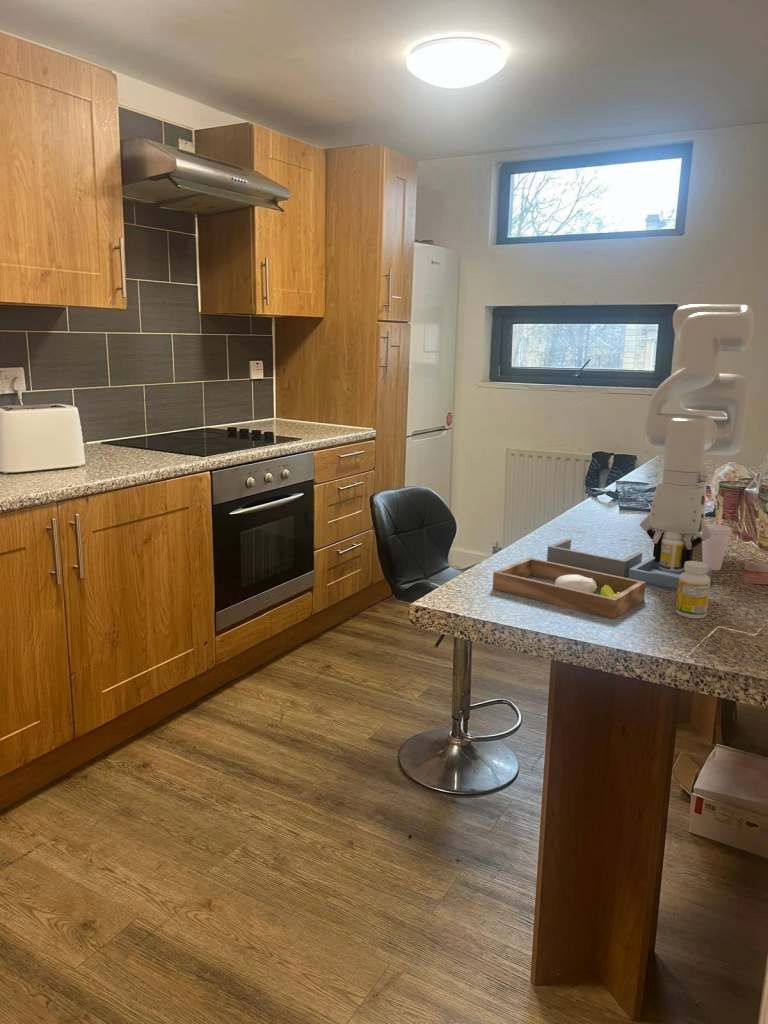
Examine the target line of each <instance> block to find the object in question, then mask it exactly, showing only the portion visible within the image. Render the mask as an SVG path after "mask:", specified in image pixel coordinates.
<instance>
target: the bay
mask: <svg viewBox="0 0 768 1024" xmlns="http://www.w3.org/2000/svg"><path fill="white" fill-rule="evenodd" d="M571 545H572V539H569V538H566V539H564V540H561V541H558V542H556V543H553V544H551V545H549V546H547V555H546V561H548V562H553V563H558V564H562V565H567V566H572V567H577V568H582V569H586V570H591V571H596V572H601V573H605V574H610V575H615V576H620V577H624V578H627V576H629V569H630V568H632V567H634V566H636V565H638V564H640V563H641V562H643V560H642V558H643V552H640V551H637V552H635V553H633V554H631V555H629V556H628V557H626V558H624V559H619V558H614V557H609V556H603V555H599V554H595V553H594V554H593V553H588V552H585V551H584V552H583V551H579V550H574V549H571V547H572V546H571Z"/></svg>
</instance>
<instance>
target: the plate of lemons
mask: <svg viewBox="0 0 768 1024" xmlns="http://www.w3.org/2000/svg"><path fill="white" fill-rule="evenodd" d="M594 594H598V595H602V596H606V597H611V598H613V597H615V596H616V595H618V594H620V592H617V594H615V593H614V591H613V590H612V588H611V587H610V586H608V585H605V586H604V587H603V588H602V589H601V591H598V592H596V593H595V592H594Z"/></svg>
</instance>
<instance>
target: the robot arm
mask: <svg viewBox="0 0 768 1024" xmlns="http://www.w3.org/2000/svg"><path fill="white" fill-rule="evenodd" d="M672 327H673V332H674V335H675V338H676V340H677V343H678V348H677V356H676V362H675V370H674V372H673V373H672V374H671V375H670V376H668V377H667V378H666V379H665V380H663V381H662V382H661V383H660V385H659V386H657V388H656V389H655V391H653V393H652V395H651V397H650V400H649V403H648V407H647V411H646V417H645V418H646V419H645V423H644V439H645V442H646V444H647V445H648V446H650V447H652V448H656V449H664V450H663V451H664V452H663V458H662V459H663V461H662V471H661V478H660V481H659V482H657V484H656V487H655V491H654V494H653V497H652V498H653V499H652V503H651V508H650V513H649V515H647V516H646V517H645V518H644V519H643V520H642V521H641V522H640V523H639V526H640V528H642V530H644V531H645V532H646V534H647V535H648V536H649V538H650V539H651V541H652V543H653V551H652V552H653V553H652V557H653V558H655V562H659V561H660V553H661V543H662V539H663V538H665V536H664V532H665V531H669V532H675V533H679V534H684V540H685V545H686V546H685V548H684V549H683V552H682V561H681V567H683V568H684V564H685V562H686V561H693V555H694V554H693V553H694V548H695V547H696V546H698V545H700V544H702V542H703V541H705V540H707V539H709V538H710V537H712V536H713V534H712V532H711V531H710V529H709V528H708V526H707V524H708V523H706V520H705V519H706V491H707V489H706V488H707V483H708V482H709V476H708V469H707V466H706V464H705V463H704V455H717V456H718V455H719V456H733V455H735V454H738V453H739V452H740V450H741V448H742V444H743V442H744V435H745V434H744V433H745V425H746V419H747V418H746V417H747V410H748V409H747V408H748V401H749V384H748V380H747V379H746V377H744V376H743V375H741V374H737V373H720V372H719V371H718V368H719V360H720V352H744V351H745V350H747V349H748V348H749V346H750V344H751V341H752V338H753V333H754V311H753V309H752V307H751V306H750V305H748V304H738V303H737V304H735V303H734V304H733V303H732V304H731V303H729V304H724V303H723V304H719V303H718V304H715V303H714V304H712V303H710V304H709V303H707V304H705V303H702V304H701V303H700V304H699V303H697V304H686V305H683V306H682V305H681V306H680V307H677V309H675V311H674V312H673V315H672ZM676 398H677V399H678V404H679V407H681V408H682V409H683V410H686V411H692V412H707V413H708V412H709V413H723V414H724V415H725V416H709V415H702V414H699V415H698V414H685V413H670V412H669V413H668V412H666V413H665V412H664V413H663V412H662V410H663V407H665V405H667V404H668V403H669V402H670V401H672V400H673V399H676ZM661 412H662V413H661Z"/></svg>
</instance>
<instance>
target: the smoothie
mask: <svg viewBox="0 0 768 1024" xmlns="http://www.w3.org/2000/svg"><path fill="white" fill-rule="evenodd" d="M723 511H724V508H723V507H719V515H718V523H706V524H707V526H708V528H709V529H710V531H711V532H712V534H713V536H712V537H710V538H709V539H707V540H705V541H703V542H701V550H702V551H701V553H702V555H701V557H702V559H701V560H702V561H701V562H702V563H706V564H707V565H708V568H711V569H712V571H720V570H721V568H722V565H723V561H724V558H725V553H726V549H727V546H728V542H729V538H730V535H731V534H732V531H733V528H732V527H730V526H728V525H725V524H724V525H723V524H722V518H723Z"/></svg>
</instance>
